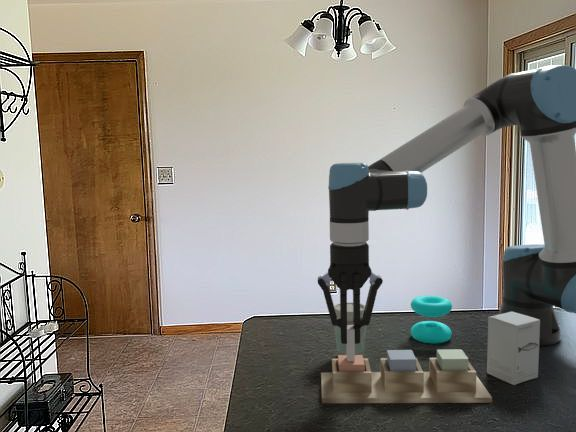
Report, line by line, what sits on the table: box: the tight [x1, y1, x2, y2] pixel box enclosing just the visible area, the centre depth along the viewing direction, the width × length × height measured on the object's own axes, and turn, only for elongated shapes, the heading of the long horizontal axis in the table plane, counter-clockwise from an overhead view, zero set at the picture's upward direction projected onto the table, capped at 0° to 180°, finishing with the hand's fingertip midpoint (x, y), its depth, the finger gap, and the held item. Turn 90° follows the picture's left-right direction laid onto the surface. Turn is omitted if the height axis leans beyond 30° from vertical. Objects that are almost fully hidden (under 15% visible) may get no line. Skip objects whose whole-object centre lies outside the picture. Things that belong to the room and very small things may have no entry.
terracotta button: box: [337, 354, 365, 372], centre depth 110 cm, size 5×5×4 cm
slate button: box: [386, 349, 417, 371], centre depth 109 cm, size 5×5×4 cm
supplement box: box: [486, 312, 540, 386], centre depth 114 cm, size 7×7×13 cm
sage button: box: [436, 348, 470, 371], centre depth 109 cm, size 5×5×4 cm
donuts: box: [410, 295, 453, 344], centre depth 137 cm, size 10×10×10 cm
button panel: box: [320, 357, 493, 404], centre depth 110 cm, size 32×12×5 cm, turn 87°
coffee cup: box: [333, 301, 368, 356], centre depth 126 cm, size 8×8×12 cm
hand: (350, 358), depth 110 cm, fingers closed
